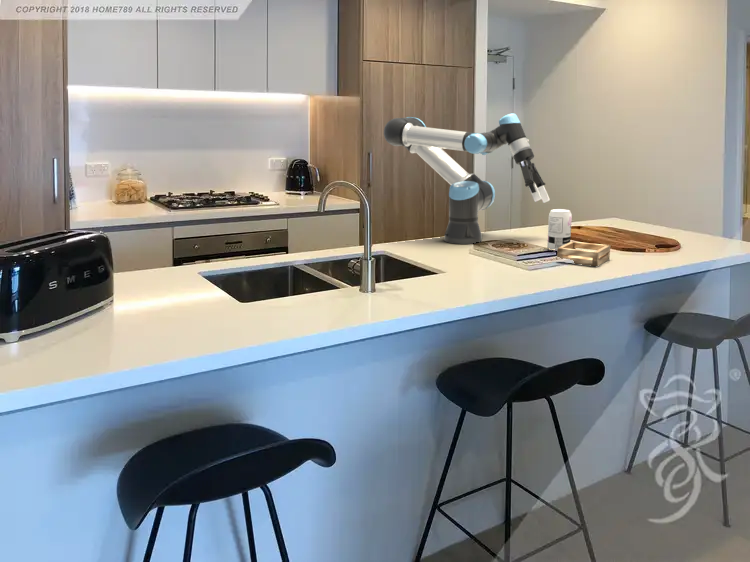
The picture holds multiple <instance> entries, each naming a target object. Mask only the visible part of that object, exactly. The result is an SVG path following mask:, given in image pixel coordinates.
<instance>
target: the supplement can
mask: <svg viewBox="0 0 750 562" xmlns="http://www.w3.org/2000/svg"><path fill="white" fill-rule="evenodd" d="M572 217H573V214H572V212H571V210H569V209H565V208H555V209H551V210H550V212H549V214H548V227H547V247H546V248H547V249H548V248H550V249H555V250H558V248H559V247H561V246H563V245H565V244H567V243H569V242H571V234H572V219H573V218H572Z"/></svg>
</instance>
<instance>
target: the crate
mask: <svg viewBox="0 0 750 562" xmlns="http://www.w3.org/2000/svg"><path fill="white" fill-rule="evenodd" d="M556 255H557V256H556V258H557V257H560V258H566V259H570V260H573V261H574V263H575V264H574V265H576V264H582V265H581V266H584V265H591V266H590V267H592V266H598V265H599V266H601V265H602V264H604V263H606V262H608V261H609V260H610V255H611V245H609V244H602V243H601V244H599V243H589V242H580V241H572V240H571V241H570V242H569V243H567V244H565V245H563V246H561V247H559V248H558V250H557V254H556ZM600 264H601V265H600ZM599 266H598V267H599Z"/></svg>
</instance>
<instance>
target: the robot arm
mask: <svg viewBox="0 0 750 562" xmlns="http://www.w3.org/2000/svg"><path fill="white" fill-rule="evenodd" d="M383 137H384V139H385V141H386V142H387V143H388V144H389V145H391V146H394V147H404V148H405V149H406V150H407V151H408V152H409V153H410V154H417V155H418V156H419V157H420V158H421V159H422V160H423V161H424V162H425V163H426V164H427V165H428V166H430V167H431V169H433V171H435V172H436V173H437V174H439V176H440V177H441V178H443V180H444V181H446V182H447V183H448V184H449V185H450V186H449V190H448V191H449V192H448V197H449V199H448V224H447V227H446V230H445V232H444V240H443V241H444V242H445V243H449V244H457V245H470V244H471V245H472V244H473V243H474V244H477V243H476V242H479V243H481V242H483V234H482V231H481V228H480V224H479V212H480V211H483V210H487V209H488V208H489V207H491V206H492V204H493V203H494V201H495V197H496V190H495V187H494V186H493V184H491V182H489V181H487V180H481V178H480V177H478V175H477V174H475V173H469V172H468V171H466V170H465V169H464V168H463V167H462V166H461V165H460V164H459V163H458V162H457V161H455V160H454V158H452V157H451V156H450V155H449V154H448V153H447V152H446V151H445V150H444V149H446V150H453V151H461V152H468V153H470V154H473V155H474V154H475V155H478V154H481V155H482V156H485V155H488V154H491V153H493V152H494V151H496V150H497V149H500V147H501V148H502V147H503V146H505V145H507V146H508V147H509V151H510V152H511V155H512V156H513V160H514V162H515V164H516V165H519V166H520V169H521V172H522V176H523V179H524V183H525V184H524V185H525V188H527V187H528V190H529V192H530V194H531V197H532V199H533V201H534V203H537V202H538V201H540V200H542V204H544V203H547V202H549V201H550V200H551V199H550V197H549V194H548V191H547V190H546V188H545V185H546V182H544V180H543V178H542V177H541V175H540V173H539V171H538V169H537V167H536V165H535V163H534V162H531V161H532V160H533V159H534V157H535V155H534V152H533V150H532V148H531V145H530V143H529V142H530V139H528V138H527V135H526V133H525V130H524V128H523V126H522V123H521V121H520V119H519V117H518V115H517V114H516V113H508V114H506V115H504V116H502V117H501V118H500V119H499V120H498V126H497V127H496V128H494V129H492V130H490V131H488V132H470V131H461V130H455V129H454V130H453V129H443V128H435V127H429V126H428V127H427V126H426V124H425V123H424V122H423V121H422V120H421V119H420V118H417V117H412V116H407V117H394V118H392V119H390V120H389V121H387V123H386V124H385V126H384V129H383ZM480 241H481V242H480ZM474 244H473V245H474Z"/></svg>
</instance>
